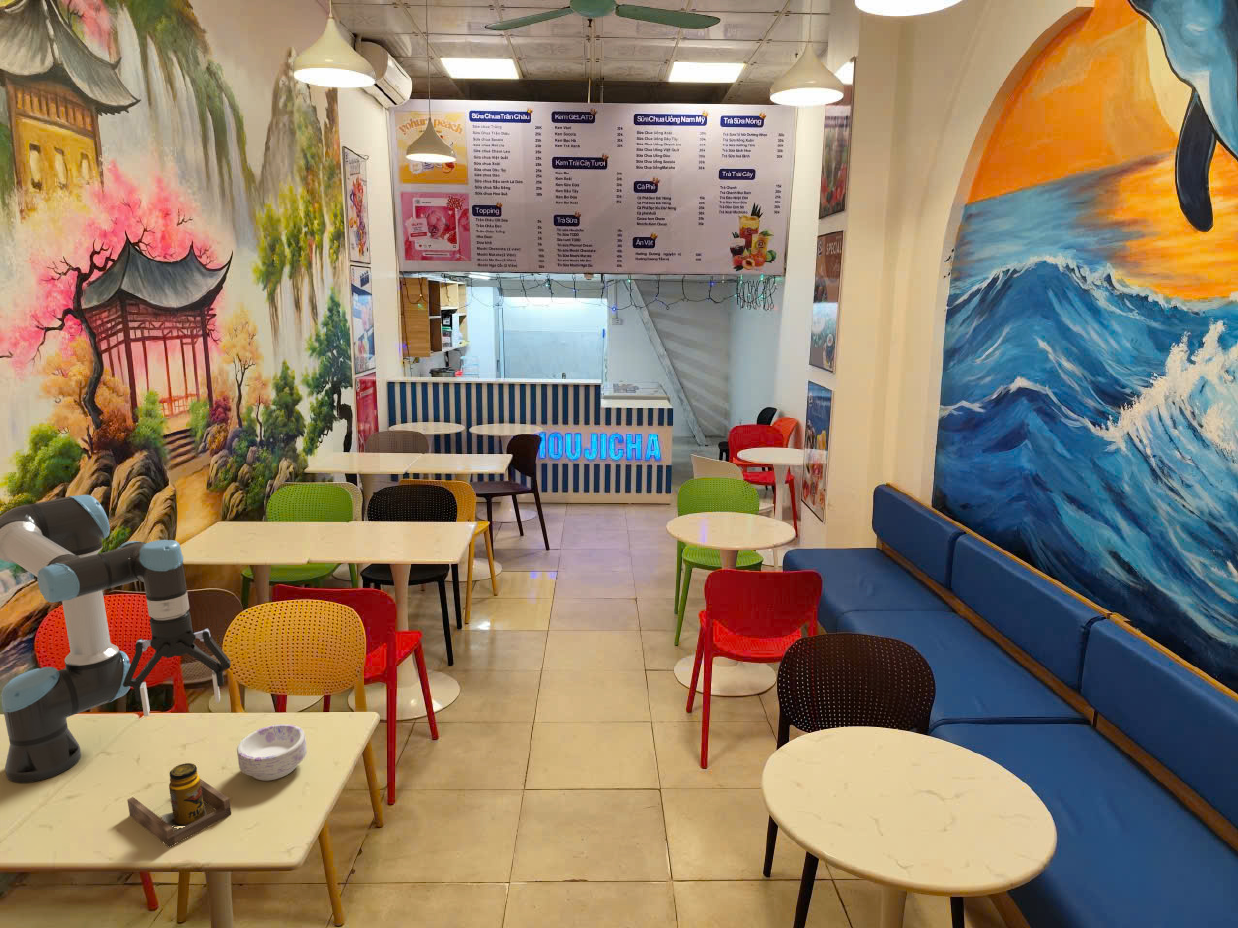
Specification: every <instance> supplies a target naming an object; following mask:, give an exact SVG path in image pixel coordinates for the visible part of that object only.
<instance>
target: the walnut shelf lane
mask: <svg viewBox="0 0 1238 928" xmlns="http://www.w3.org/2000/svg"><path fill="white" fill-rule="evenodd" d="M200 782H201V789H202V796H203V803H204V804H207V805H208V806H209V807H211V808H212V809H214V811H212V812H211V813H207V815H206V816H204V817H203V818H201V819H199V820H197V821H195V822H193V823H191V824H189V825H187V826H185V827H183V828H182V829H179V830H175V831H173V828H172V827H171V826H170V825H169V824H167V823H166V822H165V821H163V820H162V817H160V816H158V815H157V814H155V812H153V811H152V810H151V809H150V808H148V807H147V806H145V805H144V804H143V803H141V802H140V801H139V800H138V799H136V798H135V797H134V796H132V797H130V798H128V799H127V806H128V813H129V816H130V817H131V818H132V819H133V820H135V821H136V822H137V823H138V824H140V825H141V826H142V827H144V829H145V830H147V831H148V830H149V831H150V832H149V831H148V832H149V833H150V834H152V835H153V836H154V835H155V836H154V837H155V838H157V839H158V838H159V839H160V840H159V839H158V840H159V841H160V842H162V843H163V842H164V843H165V844H167V845H168V846H169V847H170V846H171V847H173V846H175V845H176V844H175V843H177V842H179V841H181V840H183V839H185V838H186V839H188V838H190V837H192V836H193V834H194V835H195V833H196V834H198V833H199V832H202V831H203V830H205V829H206V828H208V826H209V827H210V826H212V825H214V824H216V823H218V822H219V821H222V820H224V819H225V818H227V817H229V816H231V815H232V810H231V801H230V798H229V797H228V796H227V795H226V794H223V793H222V792H221V791H219V790H218V789H216V788H215V787H214V786H212V785H210V784H208V783H207V782H206V781H204V780H203V779H202V778H200ZM197 832H198V833H197ZM191 835H192V836H191ZM187 837H188V838H187ZM186 839H185V840H186ZM183 841H184V840H183ZM181 842H182V841H181ZM164 843H163V844H164ZM179 843H180V842H179ZM165 844H164V845H165ZM174 844H175V845H174ZM177 844H178V843H177ZM167 845H166V846H167ZM172 845H173V846H172ZM168 846H167V847H168ZM169 847H168V848H169ZM171 847H170V848H171Z"/></svg>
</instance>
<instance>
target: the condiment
mask: <svg viewBox="0 0 1238 928" xmlns="http://www.w3.org/2000/svg"><path fill="white" fill-rule="evenodd" d="M200 779H201V776H200V775H199V774H198V767H197V766H196V764H195V763H192V762H191V763H190V762H185V763H182V764H178V765H176V766H174V767H173V768H172V769H171V770H170V772H169V784H168V789H169V794H170V801H171V802H170V803H171V810H172V812H169V813H165V814H162V815H161V819H162V820H163V821H165V822H166V823H167V824H169V825H170V826H171V827H172V826H174V827H175V826H187V825H189V824H191V823H193V822H195V821H197V820H199V819H201V818H203V817H204V816H206V815H208V813H207V809H206V805H205V802H204V801H203V796H202V789H201V782H200ZM174 827H172V828H173V832H176V831H178V830H180V829H177V828H174ZM181 829H182V828H181Z"/></svg>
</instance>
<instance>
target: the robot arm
mask: <svg viewBox="0 0 1238 928" xmlns="http://www.w3.org/2000/svg"><path fill="white" fill-rule="evenodd" d="M110 531H111V525H110V521H109V518H108V516H107V513H106V511H105V510H104V507H103V506H102V505H101V503H100V502H99V501H98V499H97V498H95V497H94V496H93V495H90V494H80V495H69V496H65V497H60V498H55V499H54V498H53V499H49V500H44V501H40V502H35V503H31V504H30V503H29V504H23V505H20V506H16V507H13V508H11V509H10V510H7V511H5V512H4V513H3V514H1V515H0V560H1V561H3V562H6V563H11V564H16V565H18V566H19V567H22V569H23V570H25V571H26V572H29V573H30V574H31V575H33V576H34V577H36V578H37V585H38V588H39V591H40V594H41V596H43V599H44V600H45V601H46V602H49V603H53V604H54V603H58V602H61V603H62V604H61V605H62V609H63V615H64V621H65V627H66V632H67V639H68V644H69V650H70V652H69V653H68V654H67V655H66V656H65V658H64V664H65V667H64V668H62V669H57V668H56V667H53V666H43V667H40V668H39V667H38V668H37V667H36V668H34V669H30V670H28V671H25V672H23V673H20V674H18V675H16V676H15V677H13V678H12V679H10V680H9V681H8V682H7V683H6V684H5V685H4V687H3V688H2V690H1V693H0V694H1V695H0V697H1V709H2V711H3V715H4V721H5V726H6V731H7V736H8V741H9V747H8V752H7V757H6V761H5V766H4V771H5V776H6V779H7V780H8V781H10V782H13V783H17V784H19V783H24V784H25V783H26V784H27V783H32V782H33V783H36V782H38V781H42V780H46V779H50V778H53V777H56V776H58V775H60V774H62V773H64V772H66V771H68V770H69V769H71V768H72V767H74V765H76V764H77V763H78V762H79V761H80V759H81V756H82V751H81V746H80V744H79V742H78V741H77V740H76V738H75V736H74V735H73V733H72V732H71V731H70V729H69V727H68V721H67V718H68V717H69V718H70V717H71V716H74V715H77V714H79V713H83V712H85V711H87V710H91V709H94V708H96V707H99V706H101V705H105V704H107V703H112V702H113V701H115V700H117V699H119V698H121V697H123V696H125V695H126V694H127V693H128V692H129V690H130V689H131V688H133V689H134V690H133V692H134V697H135V700H136V702H137V703H138V702H141V704H142V710H143V717H149V714H150V712H151V711H150V709H151V708H150V703H149V702H150V701H149V696H148V689H147V682H146V681H145V679H146V678H147V677H148V676H149V675H150V673H151V671H153V669H154V668H155V666H156V665H158V663H159V662H160V661H161V659H162V658H163V657H164V658H166V659H170V658H174V657H182V656H184V655H185V654H187V655H189V656H190V657H193V658H195V660H197V661H199V662H201V664H202V665H204V666H206V667H208V668H209V669H210V670H212V672H211V677H212V684H213V692H214V700H215V703H216V704H218V703H220V702H221V692H220V687H223V685H224V681H225V680H224V673H223V672H224V671H225V670H229V669H230V667H231V659H230V658H229V657H228V656H227V655H226V653H225V651H224V650H223V649H222V648H221V647H220V646H219V644H218V643H217V642H216V641H215V639H213V636H212V635H211V631H210V629H209V628H208V627H204V628H203V630H201V631H196V632H195V631H194V629H193V626H192V624H193V623H192V617H191V611H189V609H190V603H189V597H188V596H189V594H188V589H187V583H186V576H185V575H186V574H185V566H184V555H183V553H182V549H181V545H180V543H179V541H177V540H173V539H169V540H168V539H159V540H158V539H157V540H153V541H150V542H147V543H146V542H144V541H136V540H131V541H130V540H129V541H126V542H123V543H122V544H121V545H119V546H118V547H117V548H116V549H111V550H109V551H105V552H101V553H99V552H100V551H101V550H102V549H103V548H104V547H103V541H102V539H103V540H104V539H106V538H108V537H109V535H110ZM137 581H139V582H142V583H143V586H144V591H145V597H146V598H145V599H146V604H147V606H146V607H147V611H148V616H149V617H150V618H149V626H150V632H151V639H143V638H138V639H137V640H136V643H135V645H134V646H135V653H134V656H133V658H132V660H131V663H130V658H129V656H128V655H127V653H126V652H125V651H123V650H120V649H119V647H118V646H117V645H115V644H113V643H112V642H111V636H110V630H109V623H108V618H107V612H106V606H105V598H104V593H103V591H104V590H107V589H112V588H115V587H118V586H122V585H127V584H130V583H133V582H137ZM196 639H198V640H200V642H203V643H204V645H205V646H206V647H207V648H208V649H209V651H210V652H211V653H212V654H213V655H214V657H215V658H216V659H217V660H216V659H214V658H213V657H212V656H210V654H208V653H206V652H204V651H203V650H202V649H201V648H199V647H198V645H196V644H195V643H194V642H195V641H196ZM148 647H151V648H152V649H153V650H155V652H154V654H153V655H152V657H151V658H150V659H149V661H148V662H147V663H146V664H145V666H144V667H143V669H141V671H140V673H139V674H138V675H137V676H136V677H135V678H133V677H134V674H135V672H136V670H137V668H138V665H139V663H140V660H141V658H142V655H143V652H146V651H147V649H148Z"/></svg>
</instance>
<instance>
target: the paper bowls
mask: <svg viewBox="0 0 1238 928" xmlns="http://www.w3.org/2000/svg"><path fill="white" fill-rule="evenodd" d="M306 740H307V739H306V733H305V732H304V730H303V729H302V727H299V726H297V725H294V724H287V723H286V724H284V723H283V724H281V723H280V724H272V725H268V726H264V727H262V728H259V729H257V730H256V729H255V731H253V732H251V733H249V734H248V735H246V736H245V737H244V738H242V740H241V741H240V742H239V743H238V745H237V748H236V754H237V759H238V768H239V770H240V771H241V772H242V773H243V774H245V775H247V776H251V777H252V778H254V779H256V780H260V781H267V782H268V781H274V780H278V779H281V778H283V777H285V776H288V775H289V774H290V773H292V772H293V771H294V770H295V769H296V768H297V766H298V765H300V763H301V762H303V760H305V758H306V756H307V750H308V748H307V741H306Z"/></svg>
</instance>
